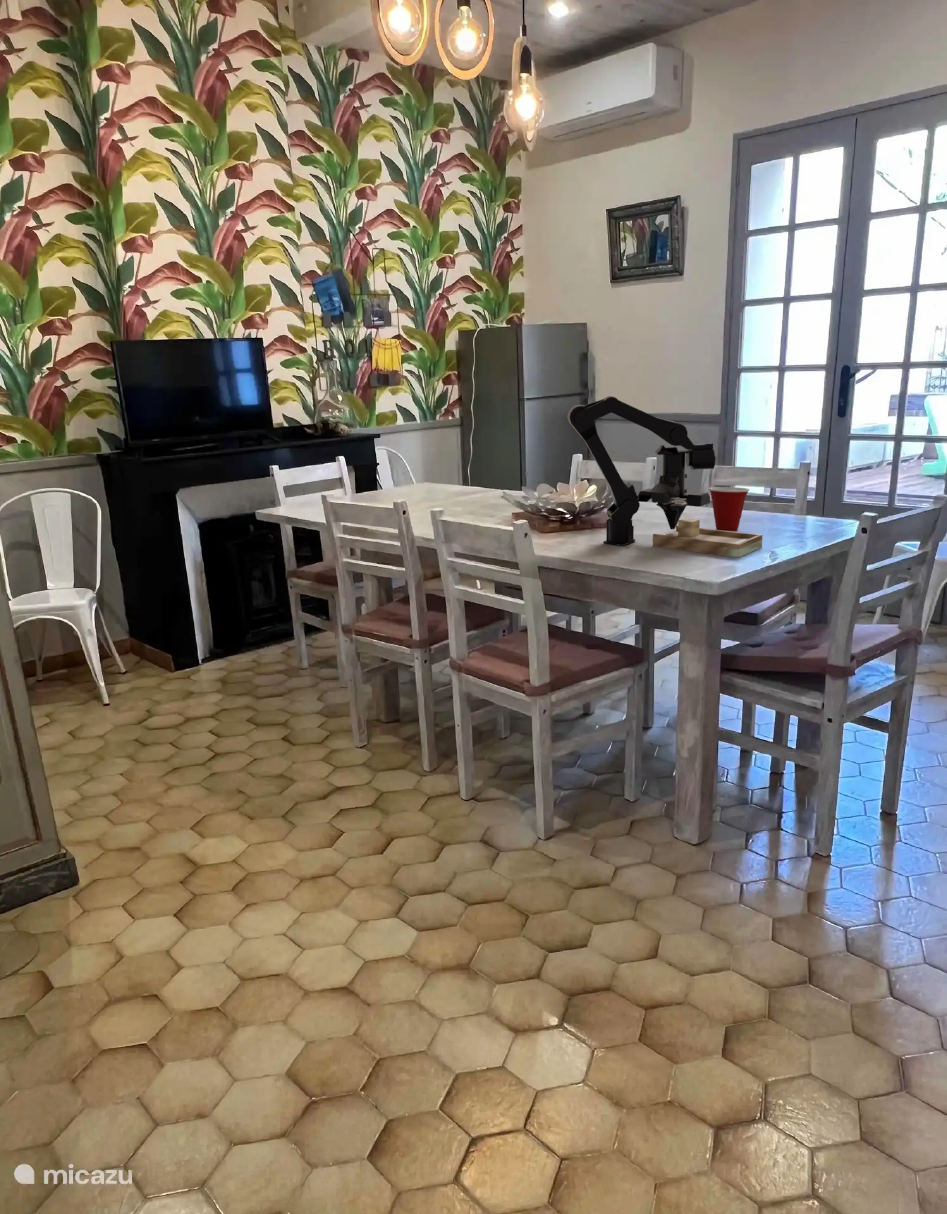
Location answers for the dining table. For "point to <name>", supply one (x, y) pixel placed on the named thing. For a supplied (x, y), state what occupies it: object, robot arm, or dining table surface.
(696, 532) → the block
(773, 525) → the dining table surface
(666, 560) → the dining table surface
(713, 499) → the plastic cup
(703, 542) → the wooden tray box
